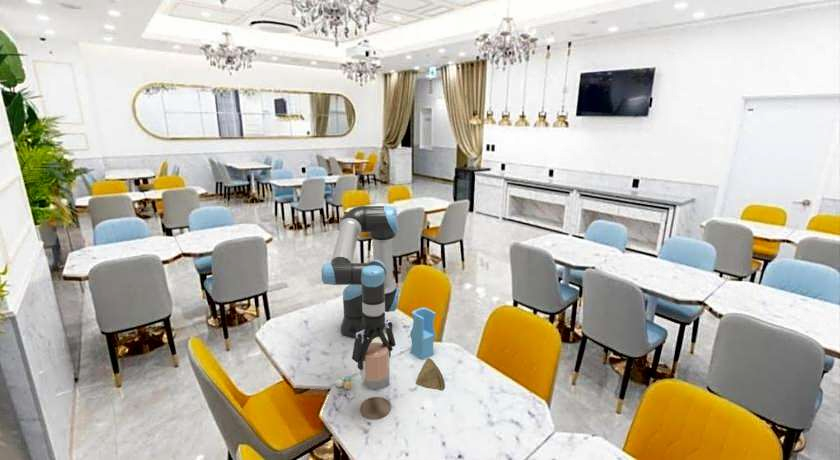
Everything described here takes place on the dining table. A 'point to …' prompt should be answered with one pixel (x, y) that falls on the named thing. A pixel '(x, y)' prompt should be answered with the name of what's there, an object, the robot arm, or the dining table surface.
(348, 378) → the marble teal
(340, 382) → the marble white
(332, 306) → the dining table surface
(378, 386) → the cup grey
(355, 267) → the robot arm
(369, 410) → the coaster
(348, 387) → the marble amber
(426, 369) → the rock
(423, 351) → the blue notched block
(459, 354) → the dining table surface
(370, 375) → the cup terracotta
